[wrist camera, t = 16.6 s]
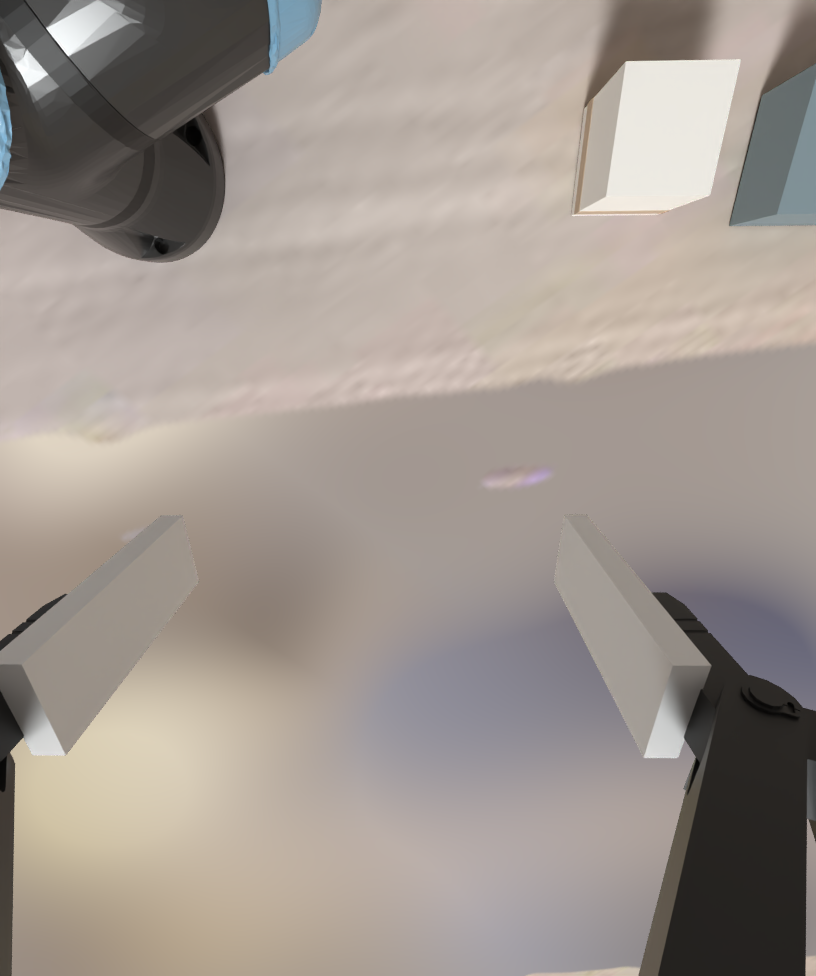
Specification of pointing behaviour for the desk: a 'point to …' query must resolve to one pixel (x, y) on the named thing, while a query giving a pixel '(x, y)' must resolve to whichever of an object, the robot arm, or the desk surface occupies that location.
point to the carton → (653, 137)
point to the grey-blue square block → (781, 158)
